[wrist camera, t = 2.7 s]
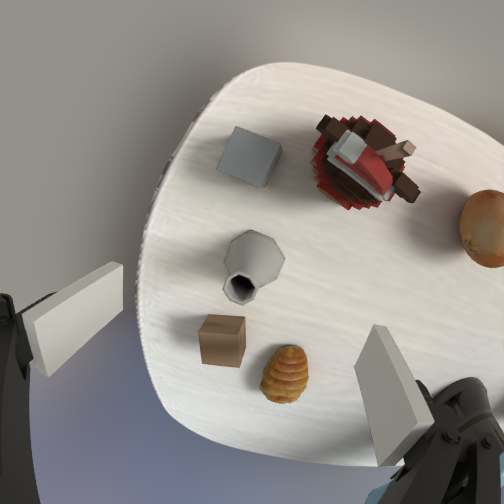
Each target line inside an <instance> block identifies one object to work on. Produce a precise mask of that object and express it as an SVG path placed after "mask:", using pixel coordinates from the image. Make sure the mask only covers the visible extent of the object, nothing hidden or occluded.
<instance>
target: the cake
mask: <svg viewBox="0 0 504 504" xmlns="http://www.w3.org/2000/svg"><path fill="white" fill-rule="evenodd" d="M316 129H317V130H318V131H320V132H321V133H322V134H321V137H320V138H319V139H318V141H317V142H316V144H315V145H314V148H313V149H312V150H313V151H314V152H316V153H317V154H316V155H315V156H314V158H313V159H312V161H311V162H310V163H312V164H313V165H315V166H314V168H313V169H312V171H313V172H315V173H316V175H315V176H314V178H313V179H315V180H316V181H318V182H319V184H318V185H317V187H318V188H319V190H320V191H322V192H323V193H324V194H326V195H327V196H328V197H330V198H331V199H332V200H334V201H335V202H336V203H338V204H340V205H341V206H343V207H344V208H346V209H347V210H350V208H351V207H352V206H353V207H354V208H356V209H359V210H360V209H361V208H362V207H365V208H368V209H369V208H370V207H371V206H373V207H377V208H378V206H379V205H380V203H381V202H382V201H383V200H385V201H390V200H391V199H392V197H393V196H394V194H395V193H396V194H397V195H398V196H399V197H401V198H403V199H405V200H406V201H407V202H408V203H414V202H415V200H416V199H417V197H418V196H419V194H420V193H421V191H419V190H418V188H419V187H418V186H417V185H416V184H415V183H414V182H413V181H412V180H411V179H410V178H409V177H408V176H406V175H405V174H404V173H403V172H402V171H403V170H404V168H405V166H404V163H405V161H404V160H403V157H408V156H411V155H412V154H413V152H414V150H415V149H416V147H415V146H414V145H413V144H412V143H411V142H410V141H409V140H406V141H403V142H400V143H398V144H396V142H395V140H396V139H397V138H396V137H395V135H394V134H393V133H392V132H390V131H389V130H388V129H387V128H386V127H384V126H383V125H382V124H381V123H379V122H378V121H377V120H376V119H374V120H373V121H372V122H369V121H368V120H366V119H365V118H364V117H362V116H360V117H359V118H358V119H355V118H354V117H353V116H352V117H351V118H350V119H349V120H347V119H345V118H344V117H343V118H342V119H341V120H340V121H338V120H337V119H336V118H334V117H333V118H331V117H329V116H328V115H326V114H325V116H324V117H323V119H322V120H321V121H320V123H319V124H318V125H317V127H316Z"/></svg>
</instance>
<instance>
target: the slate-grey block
mask: <svg viewBox="0 0 504 504" xmlns="http://www.w3.org/2000/svg"><path fill="white" fill-rule="evenodd" d="M281 151H282V148H281V145H280V144H279V143H277V142H274V141H272V140H270V139H267V138H265V137H262V136H260V135H258V134H255V133H253V132H250V131H247V130H245V129H242V128H240V127H237V126H235V128H234V130H233V133H232V135H231V137H230V139H229V141H228V144H227V146H226V148H225V150H224V152H223V155H222V157H221V159H220V162H219V164H218V166H217V170H219V171H222V172H224V173H226V174H229V175H231V176H233V177H236V178H238V179H240V180H243V181H245V182H247V183H249V184H252V185H254V186H256V187H258V188H265V186H266V184H267V182H268V179H269V177H270V175H271V173H272V171H273V169H274V166H275V164H276V162H277V160H278V158H279V155H280V153H281Z"/></svg>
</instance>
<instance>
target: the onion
mask: <svg viewBox="0 0 504 504" xmlns="http://www.w3.org/2000/svg"><path fill="white" fill-rule="evenodd" d="M459 232H460V238H461V242H462V245H463V247H464V249H465V251H466V253H467V254H468V255H469V256H470V257H471V259H472V260H474V261H475V262H476V263H478V264H480V265H482V266H485V267H489V268H497V267H502V266H504V193H502V192H499V191H495V190H483V191H480V192H477V193H475V194H473V195H472V196H471V197H470V198H469V199H468V200H467V202H466V204H465V206H464V209H463V211H462V215H461V218H460V226H459Z"/></svg>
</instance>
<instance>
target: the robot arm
mask: <svg viewBox="0 0 504 504" xmlns="http://www.w3.org/2000/svg"><path fill="white" fill-rule="evenodd" d="M122 289H123V265H122V264H119V263H116V262H112V261H111V262H110V263H108V264H106V265H104V266H102V267H100V268H99V269H97V270H95V271H93V272H91V273H90V274H88V275H86V276H84V277H83V278H81V279H79V280H77V281H76V282H74V283H72V284H70V285H69V286H67V287H65V288H64V289H62V290H60V291H58V292H54V293H51V294H48V295H46V296H45V297H43V298H41V300H38V301H36V302H35V303H33V304H31V305H30V306H28V307H26V308H25V309H23V310H22V311H20V312H18V313H17V314H15V309H14V305H13V299H12V297H11V296H10V295H8V294H3V293H1V294H0V504H40V499H39V495H38V490H37V485H36V480H35V473H34V467H33V459H32V450H31V440H30V421H29V386H30V384H29V383H30V365H29V362H30V361H31V360H33V359H34V362H35V366H36V369H37V370H38V371H40V372H41V373H43V374H44V375H46V376H47V377H50V376H51V375H52V374H53V373H54V372H55V371H56V370H57V369H58V368H59V367H60V366H61V365H62V364H63V363H64V362H65V361H66V360H68V359H69V358H70V357H71V356H72V355H73V354H74V353H75V352H76V351H77V350H78V349H79V348H80V347H82V346H83V345H84V344H85V343H86V342H87V341H88V340H89V339H90V338H92V337H93V336H94V335H95V334H96V333H97V332H98V331H99V330H100V329H102V328H103V327H104V326H105V325H106V324H107V323H108V322H109V321H111V320H112V319H113V318H114V317H115V316H116V315H117V314H118V313H120V312H121V311H122V310H123V297H122V296H123V290H122ZM354 368H355V372H356V375H357V379H358V383H359V386H360V390H361V394H362V398H363V402H364V406H365V410H366V414H367V418H368V422H369V426H370V431H371V435H372V439H373V444H374V449H375V453H376V458H377V463H378V467H384V466H395V465H396V464H397V463H398V462H399V461H400V460H401V459H402V458H403V459H404V462H405V465H403V466H402V467H401V468H400V469H399V471H397V472H396V473H395V474H394V475H393V476H392V477H391V478H390V479H393V478H394V477H395V478H394V480H392V481H390V482H389V483H387V484H385V485H383V486H380V487H378V488H376V489H374V490H372V491H371V492H370V493H369V495H368V497H367V499H366V501H365V504H500V503H501V487H502V486H503V485H504V433H503V431H502V429H501V428H500V426H499V424H498V423H497V421H496V419H495V418H494V416H493V415H492V413H491V410H490V405H489V400H488V396H487V390H486V388H485V386H484V385H483V383H482V382H481V381H480V380H479V379H477V378H466V379H463V380H460V381H458V382H456V383H454V384H452V385H451V386H449V387H447V388H446V389H445V390H443V391H442V392H441V393H439V394H438V395H437V396H436V397H435V398H434V399H433V400H432V398H431V397H430V394H429V392H428V390H427V388H426V387H425V386H424V385H423V384H422V383H421V381H420V380H415V379H414V377H413V375H412V373H411V371H410V369H409V367H408V365H407V363H406V362H405V360H404V358H403V356H402V354H401V352H400V350H399V348H398V347H397V345H396V343H395V341H394V339H393V338H392V336H391V334H390V332H389V330H388V329H387V327H385V326H380V325H373V327H372V329H371V332H370V334H369V336H368V338H367V341H366V343H365V345H364V347H363V349H362V352H361V354H360V356H359V358H358V360H357V362H356V364H355V366H354Z"/></svg>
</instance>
